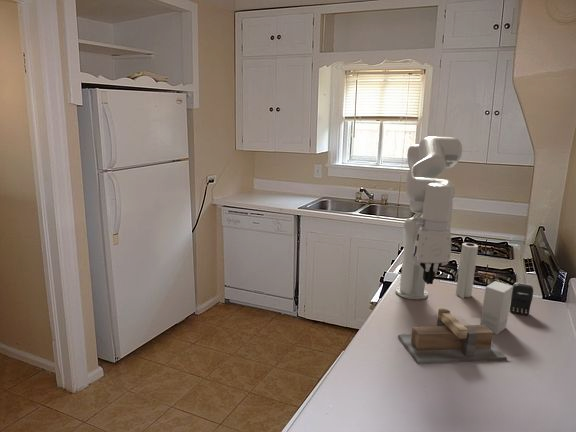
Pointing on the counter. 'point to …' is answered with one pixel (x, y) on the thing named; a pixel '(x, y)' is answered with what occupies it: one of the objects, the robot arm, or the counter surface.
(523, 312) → the battery charger
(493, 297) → the skincare box
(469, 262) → the paper towel roll
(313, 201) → the counter surface
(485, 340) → the wooden gate latch
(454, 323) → the bar
